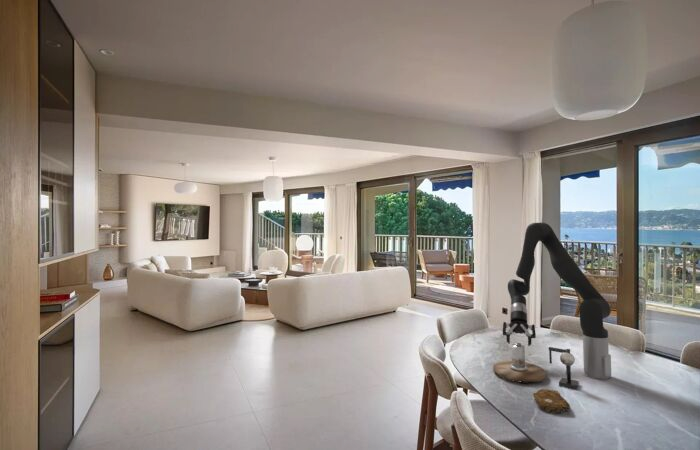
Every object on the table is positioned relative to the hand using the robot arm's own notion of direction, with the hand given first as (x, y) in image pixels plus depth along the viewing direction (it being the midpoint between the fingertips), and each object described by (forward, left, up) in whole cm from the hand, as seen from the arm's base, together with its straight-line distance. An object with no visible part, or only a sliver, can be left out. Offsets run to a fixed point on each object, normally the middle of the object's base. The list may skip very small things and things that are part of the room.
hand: (518, 344), depth 171 cm
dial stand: (-21, +4, -11) cm, 24 cm away
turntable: (-5, +9, -9) cm, 14 cm away
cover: (-5, +9, -8) cm, 13 cm away
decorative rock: (-27, +26, -11) cm, 39 cm away
